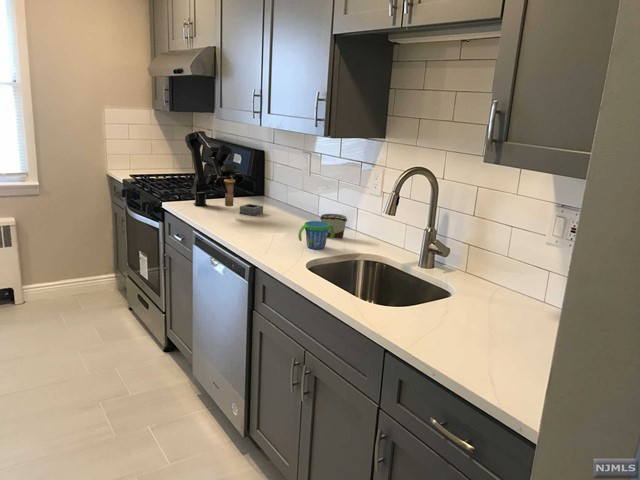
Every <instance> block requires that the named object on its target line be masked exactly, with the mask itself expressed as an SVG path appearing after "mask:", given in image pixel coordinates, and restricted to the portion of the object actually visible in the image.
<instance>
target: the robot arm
mask: <svg viewBox="0 0 640 480" xmlns="http://www.w3.org/2000/svg"><path fill="white" fill-rule="evenodd" d="M184 141H185V144H186V147H187V148H188V149H189V150H190V153H191V158H192V163H193V169H194V175H195V178H194V180H193V186H192V187H191V189H190V192H191V193H190V194H192V195H194V198H195V199H194V202H193V205H194V206H195V207H208V204H207V195H210V192H211V188H212V187H211V186H213V185H214V187H216V188H218V189H219V190H221V191H222V192H223V193H224V194H225V193H226V194H227V190H226V187H225V182H224V179H235V182H234V193H233V194H236V185H237V184H239V185H240V184H242V182H243V180H244V179H245V176H244V174H243V173H242V172H241V173H238V172H237V173H234V175H232V172H235V171H236V170H238V168H237V164H236V163H235V162H233V163H225V162H227V161H228V159H229V158H230V156H231V154H232V149H231V148H230V147H228V146H226V144H225V143H223V144H220V145H219V144H216V143H214V142H213V141H212V140H211V139H210V137H208V135H207V134H206V131H204V130H196V131H193V132H192V133H187V134H186V135H185V137H184ZM202 146H203V148H204V149H205V154H206V156H207V158H209V159H212V160H211V164H210V165H211V166H213V167H214V170H215V172H214V173H213V174H211V173H210V174H208V176H206V174H205V170H204V164H203V159H202V152H201V148H202Z"/></svg>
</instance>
